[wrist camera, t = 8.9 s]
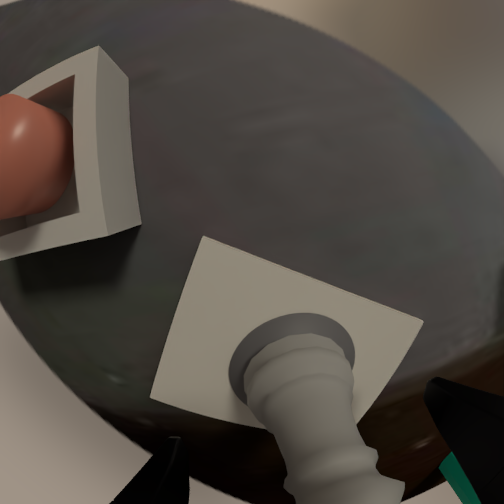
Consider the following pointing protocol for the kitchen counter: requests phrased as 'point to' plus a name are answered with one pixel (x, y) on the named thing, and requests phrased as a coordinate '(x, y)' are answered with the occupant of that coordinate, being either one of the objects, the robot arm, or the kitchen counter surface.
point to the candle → (458, 480)
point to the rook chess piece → (316, 422)
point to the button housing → (83, 157)
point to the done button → (32, 156)
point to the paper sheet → (267, 332)
